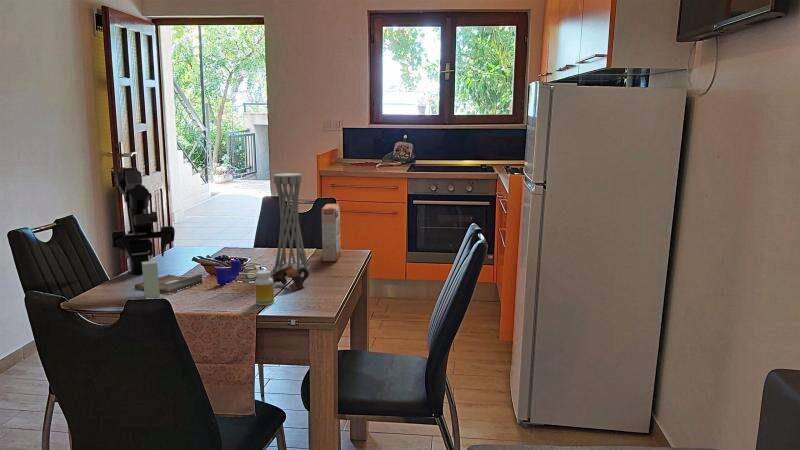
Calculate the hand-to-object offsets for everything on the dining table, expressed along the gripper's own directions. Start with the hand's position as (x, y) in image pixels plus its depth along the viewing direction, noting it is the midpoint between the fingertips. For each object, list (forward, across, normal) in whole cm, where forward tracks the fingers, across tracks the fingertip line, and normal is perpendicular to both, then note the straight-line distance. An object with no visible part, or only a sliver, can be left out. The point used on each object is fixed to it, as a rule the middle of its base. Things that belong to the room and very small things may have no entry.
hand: (147, 257), depth 188 cm
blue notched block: (+7, +25, +10) cm, 28 cm away
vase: (+5, +49, +12) cm, 51 cm away
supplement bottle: (+30, +29, -13) cm, 43 cm away
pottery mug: (+21, +41, -4) cm, 46 cm away
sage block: (+11, 0, +5) cm, 12 cm away
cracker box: (-2, +69, +18) cm, 71 cm away
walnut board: (+4, +6, +12) cm, 14 cm away
